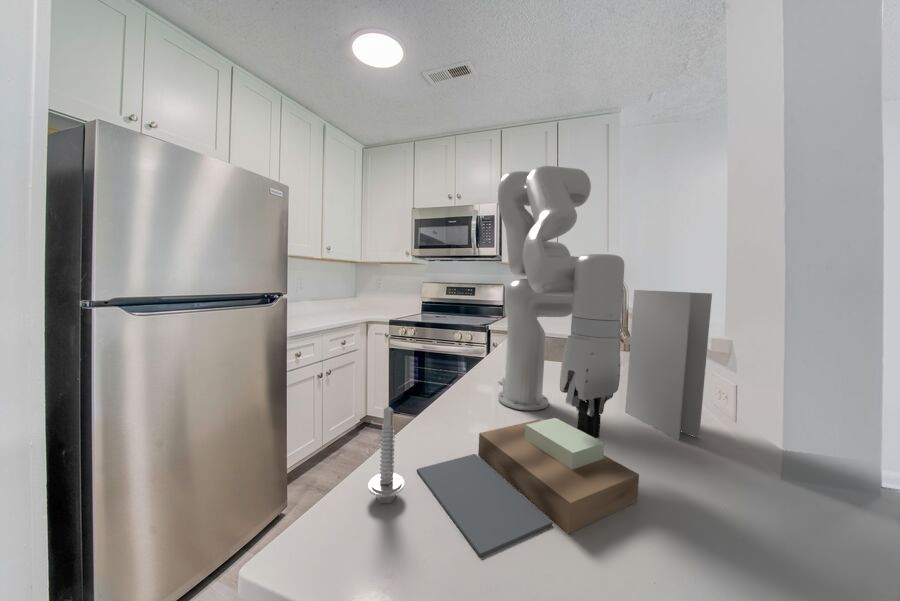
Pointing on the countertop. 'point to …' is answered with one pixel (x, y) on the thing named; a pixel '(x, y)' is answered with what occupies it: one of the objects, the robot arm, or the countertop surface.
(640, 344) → the brochure
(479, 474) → the mat
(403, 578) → the countertop surface
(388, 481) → the screw
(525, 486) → the brown wooden flat block
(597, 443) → the tile
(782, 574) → the countertop surface
